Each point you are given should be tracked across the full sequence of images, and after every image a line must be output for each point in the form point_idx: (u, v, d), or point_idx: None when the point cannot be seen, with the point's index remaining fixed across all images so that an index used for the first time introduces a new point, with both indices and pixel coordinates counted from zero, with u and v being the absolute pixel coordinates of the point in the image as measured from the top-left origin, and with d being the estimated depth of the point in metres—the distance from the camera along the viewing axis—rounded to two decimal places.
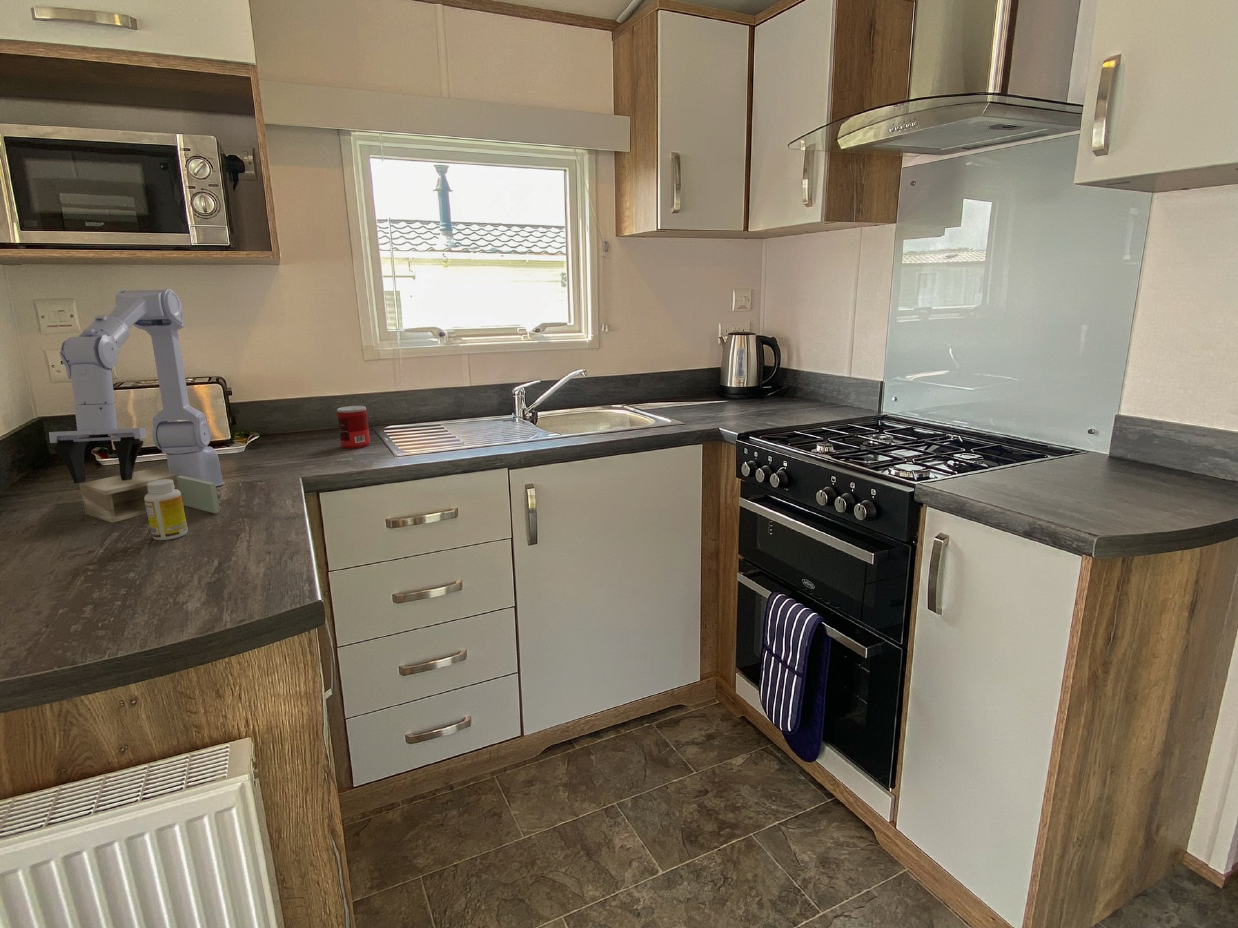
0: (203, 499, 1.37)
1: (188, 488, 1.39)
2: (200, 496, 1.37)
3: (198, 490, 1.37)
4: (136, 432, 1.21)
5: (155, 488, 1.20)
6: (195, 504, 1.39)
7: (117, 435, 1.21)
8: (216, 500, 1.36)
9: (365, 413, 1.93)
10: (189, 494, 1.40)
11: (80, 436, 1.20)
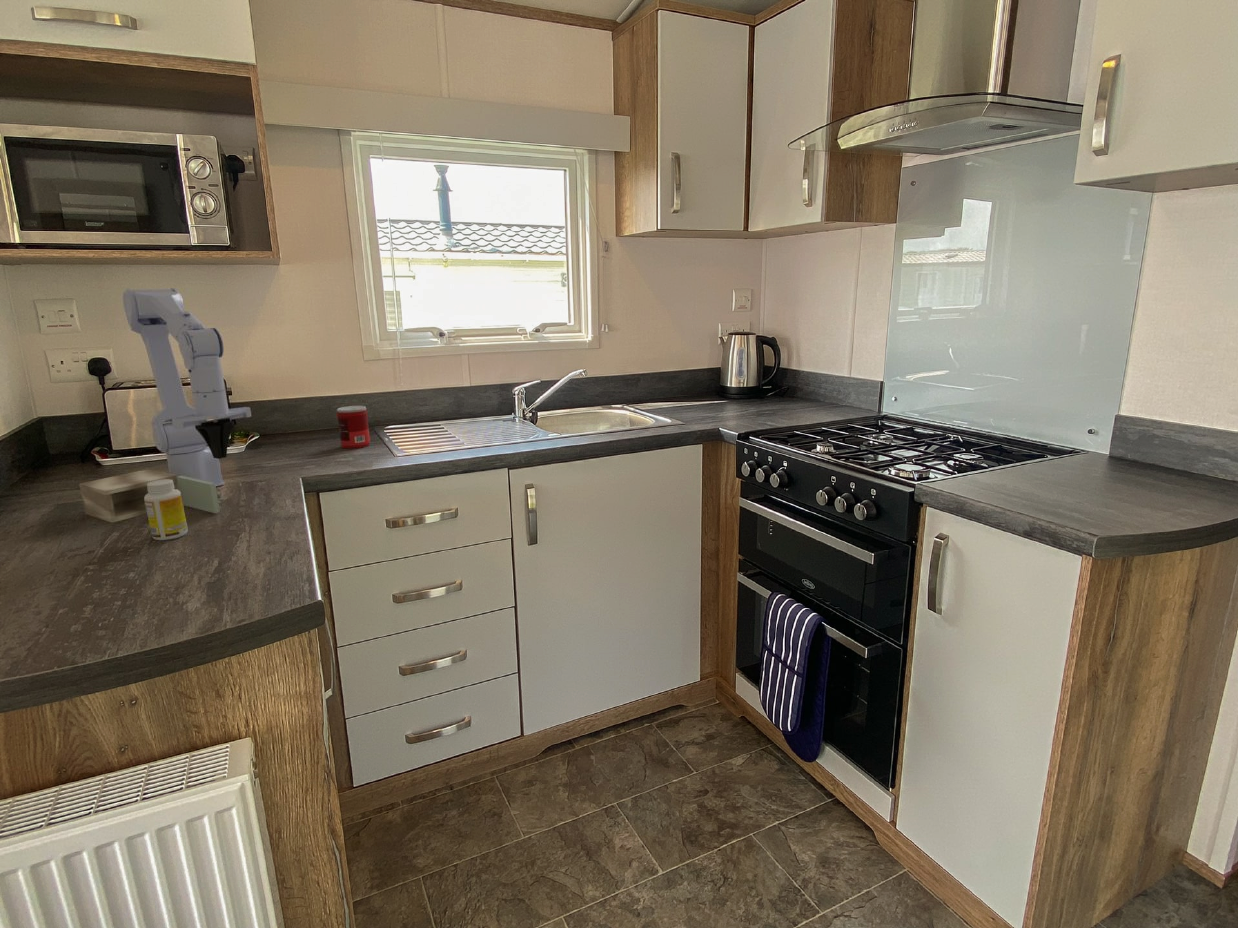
0: (203, 499, 1.37)
1: (188, 488, 1.39)
2: (200, 496, 1.37)
3: (198, 490, 1.37)
4: (248, 411, 1.42)
5: (155, 488, 1.20)
6: (195, 504, 1.39)
7: (230, 416, 1.39)
8: (216, 500, 1.36)
9: (365, 413, 1.93)
10: (189, 494, 1.40)
11: (205, 420, 1.34)
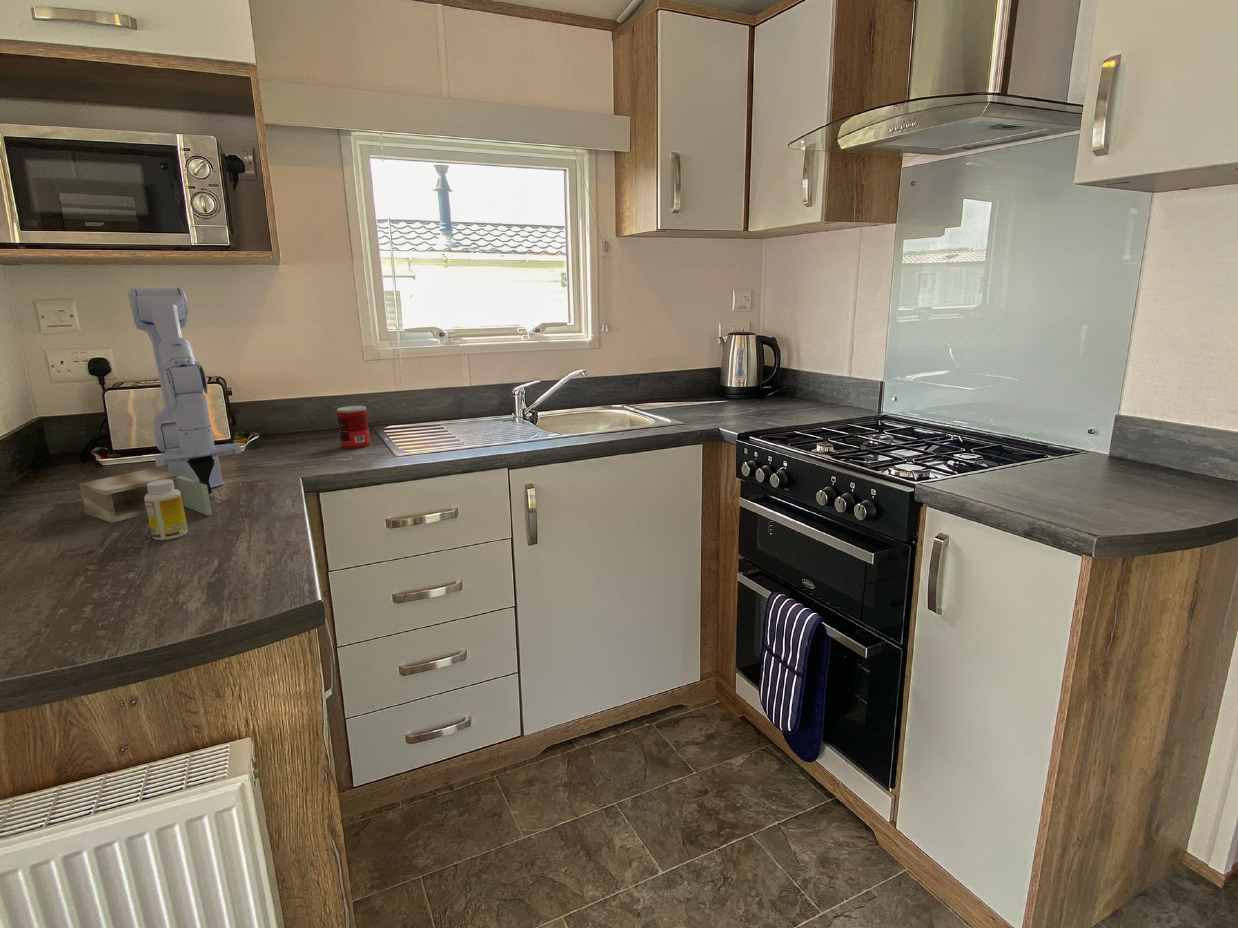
0: (197, 500, 1.36)
1: (185, 489, 1.39)
2: (195, 497, 1.37)
3: (193, 491, 1.37)
4: (237, 448, 1.39)
5: (155, 488, 1.20)
6: (191, 505, 1.39)
7: (217, 452, 1.37)
8: (208, 502, 1.35)
9: (365, 413, 1.93)
10: (186, 495, 1.39)
11: (187, 457, 1.33)
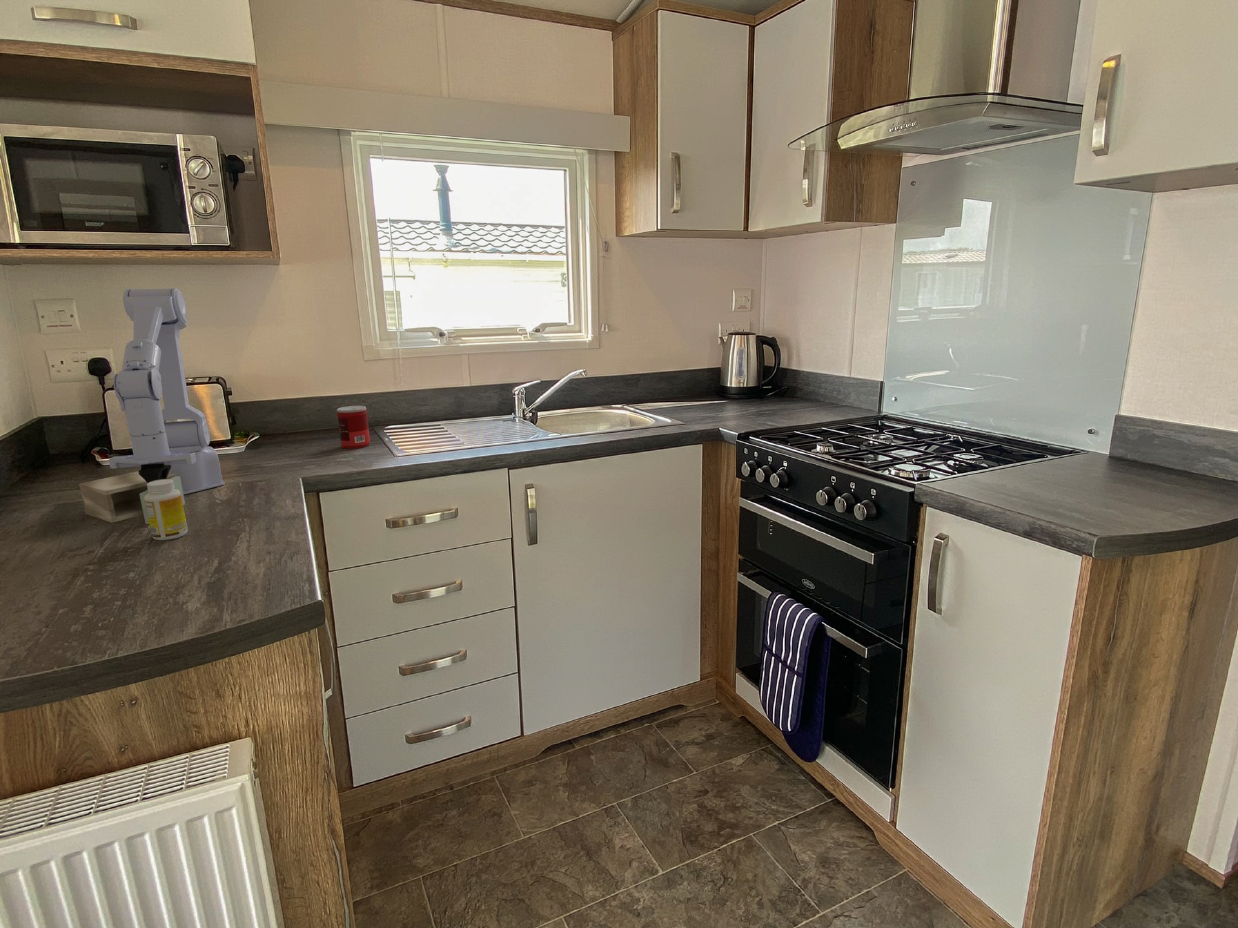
0: None
1: None
2: None
3: None
4: (187, 458, 1.31)
5: (155, 488, 1.20)
6: None
7: (170, 460, 1.31)
8: (146, 511, 1.30)
9: (365, 413, 1.93)
10: None
11: None
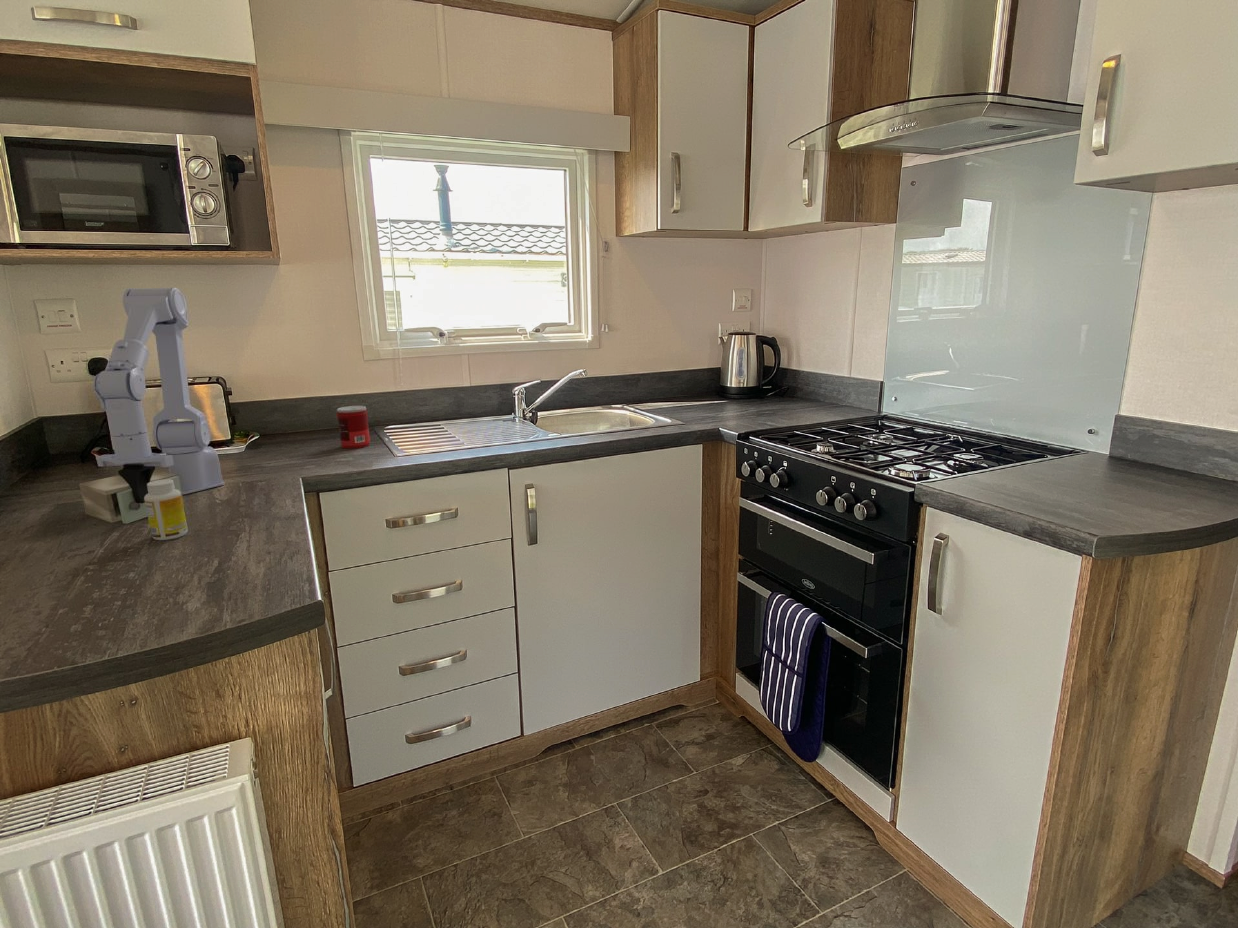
0: None
1: None
2: None
3: None
4: (162, 461, 1.29)
5: (155, 488, 1.20)
6: None
7: (149, 462, 1.30)
8: (122, 511, 1.30)
9: (365, 413, 1.93)
10: None
11: None
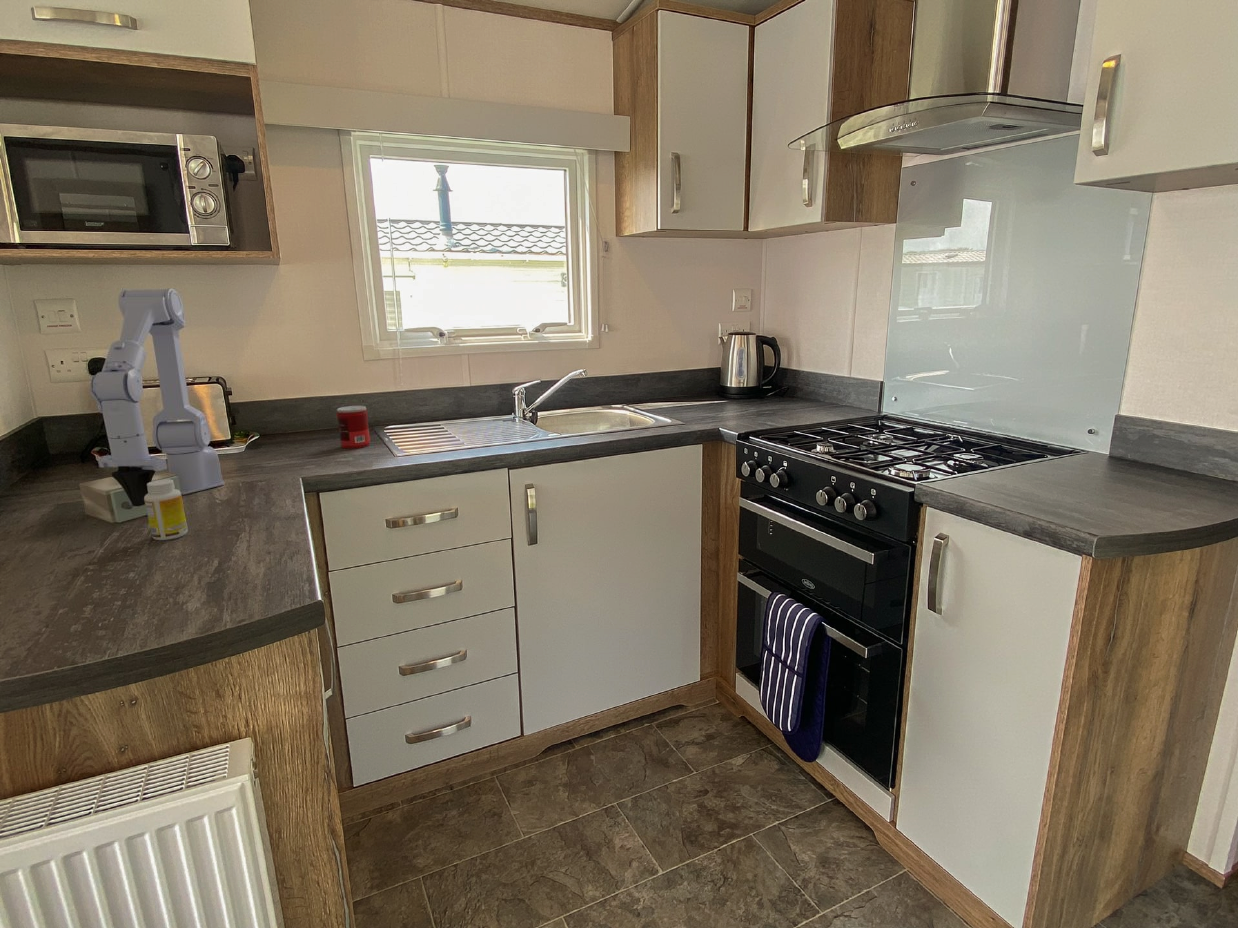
0: None
1: None
2: None
3: None
4: (154, 465, 1.26)
5: (155, 488, 1.20)
6: None
7: None
8: (115, 510, 1.31)
9: (365, 413, 1.93)
10: None
11: None
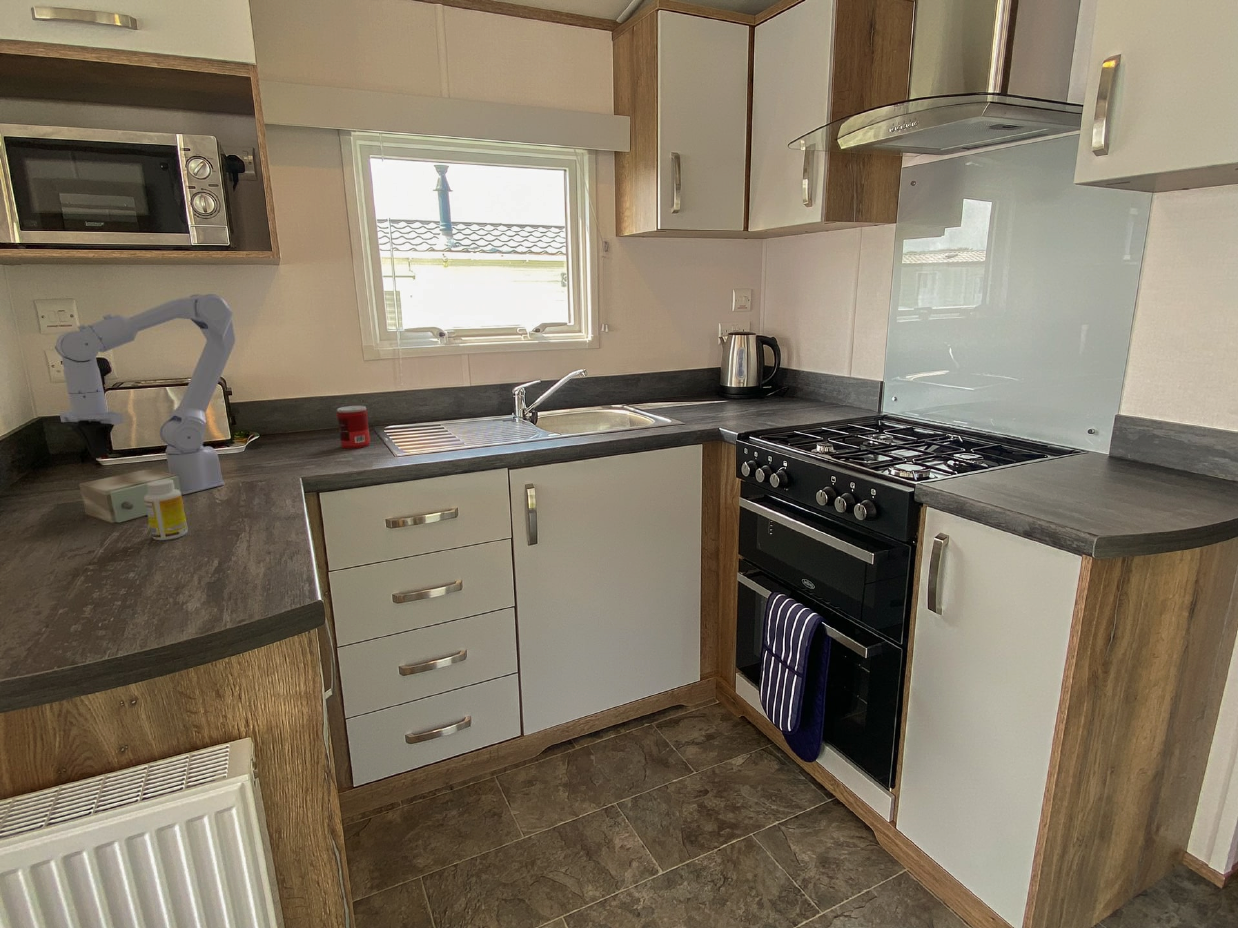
0: None
1: None
2: None
3: None
4: (111, 419, 1.36)
5: (155, 488, 1.20)
6: None
7: (102, 419, 1.38)
8: (115, 510, 1.31)
9: (365, 413, 1.93)
10: None
11: None
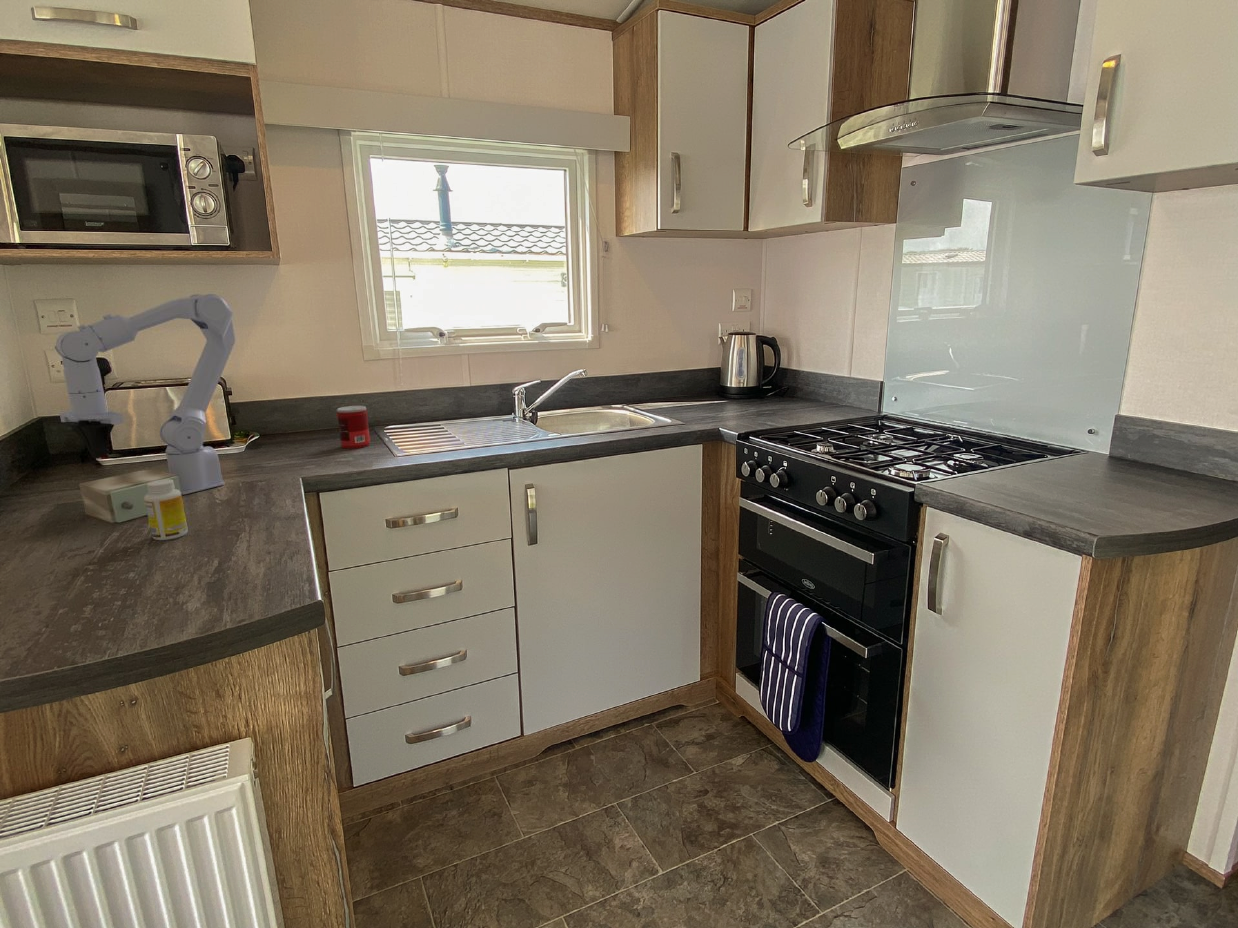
0: None
1: None
2: None
3: None
4: (111, 419, 1.36)
5: (155, 488, 1.20)
6: None
7: (102, 419, 1.38)
8: (115, 510, 1.31)
9: (365, 413, 1.93)
10: None
11: None
